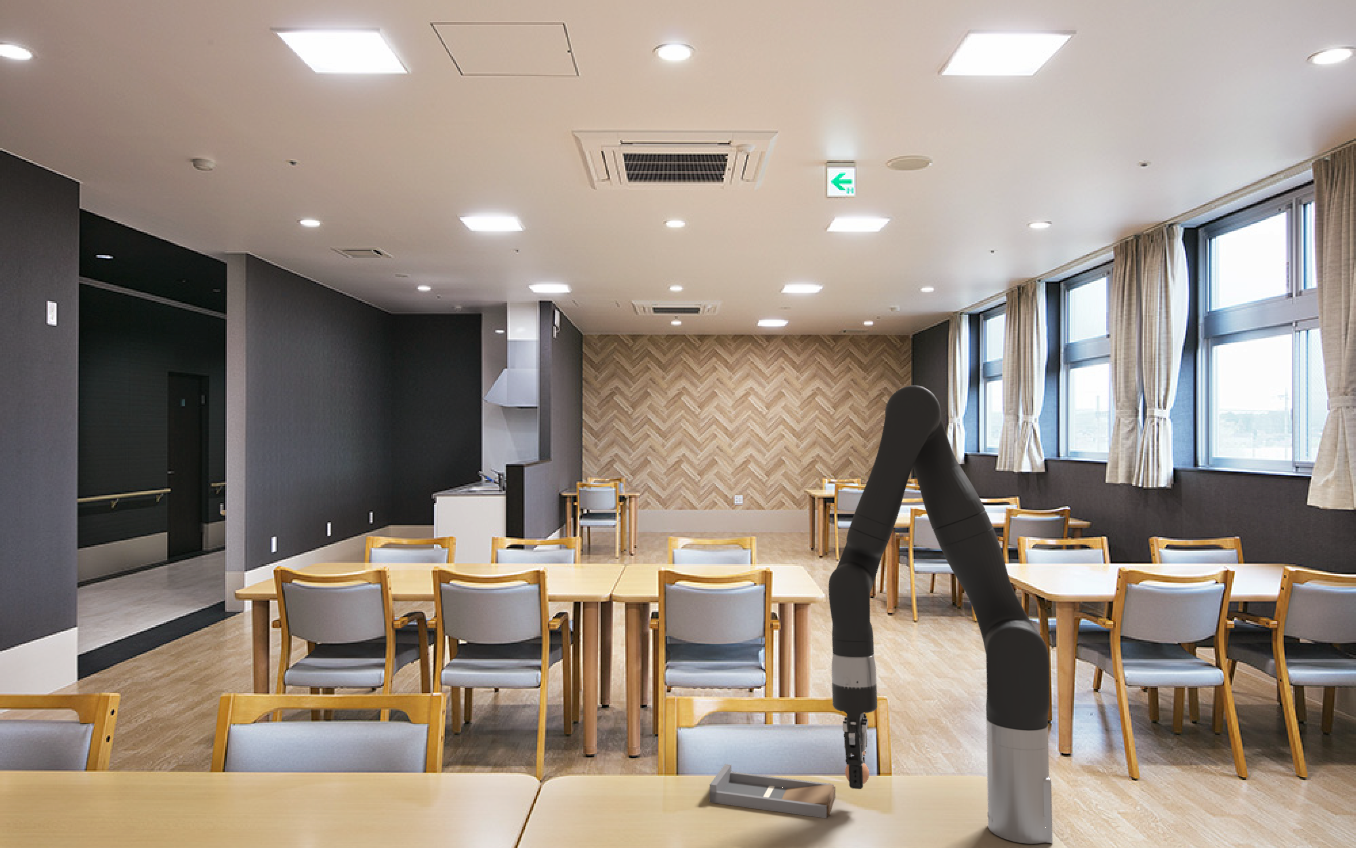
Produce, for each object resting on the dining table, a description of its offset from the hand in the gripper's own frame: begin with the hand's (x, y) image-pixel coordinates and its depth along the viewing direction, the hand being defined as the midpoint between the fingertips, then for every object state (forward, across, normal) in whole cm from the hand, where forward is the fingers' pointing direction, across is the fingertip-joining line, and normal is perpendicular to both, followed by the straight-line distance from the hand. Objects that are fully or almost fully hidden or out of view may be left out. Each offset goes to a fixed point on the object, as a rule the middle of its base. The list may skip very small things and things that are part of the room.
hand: (857, 782), depth 137 cm
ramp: (+4, 0, +9) cm, 10 cm away
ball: (-2, 0, 0) cm, 2 cm away
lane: (+4, 0, +15) cm, 15 cm away
